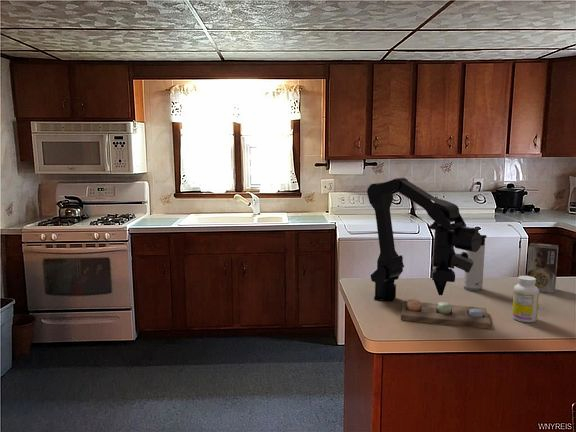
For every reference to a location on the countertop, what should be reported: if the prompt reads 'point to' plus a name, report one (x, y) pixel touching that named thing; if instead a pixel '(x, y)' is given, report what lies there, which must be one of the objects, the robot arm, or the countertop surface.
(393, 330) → the countertop surface
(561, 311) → the countertop surface
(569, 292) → the countertop surface
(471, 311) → the slate button
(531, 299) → the supplement bottle
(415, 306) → the terracotta button
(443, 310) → the sage button
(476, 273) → the travel mug
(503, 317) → the countertop surface
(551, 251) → the coffee box
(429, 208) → the robot arm
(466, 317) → the button panel
